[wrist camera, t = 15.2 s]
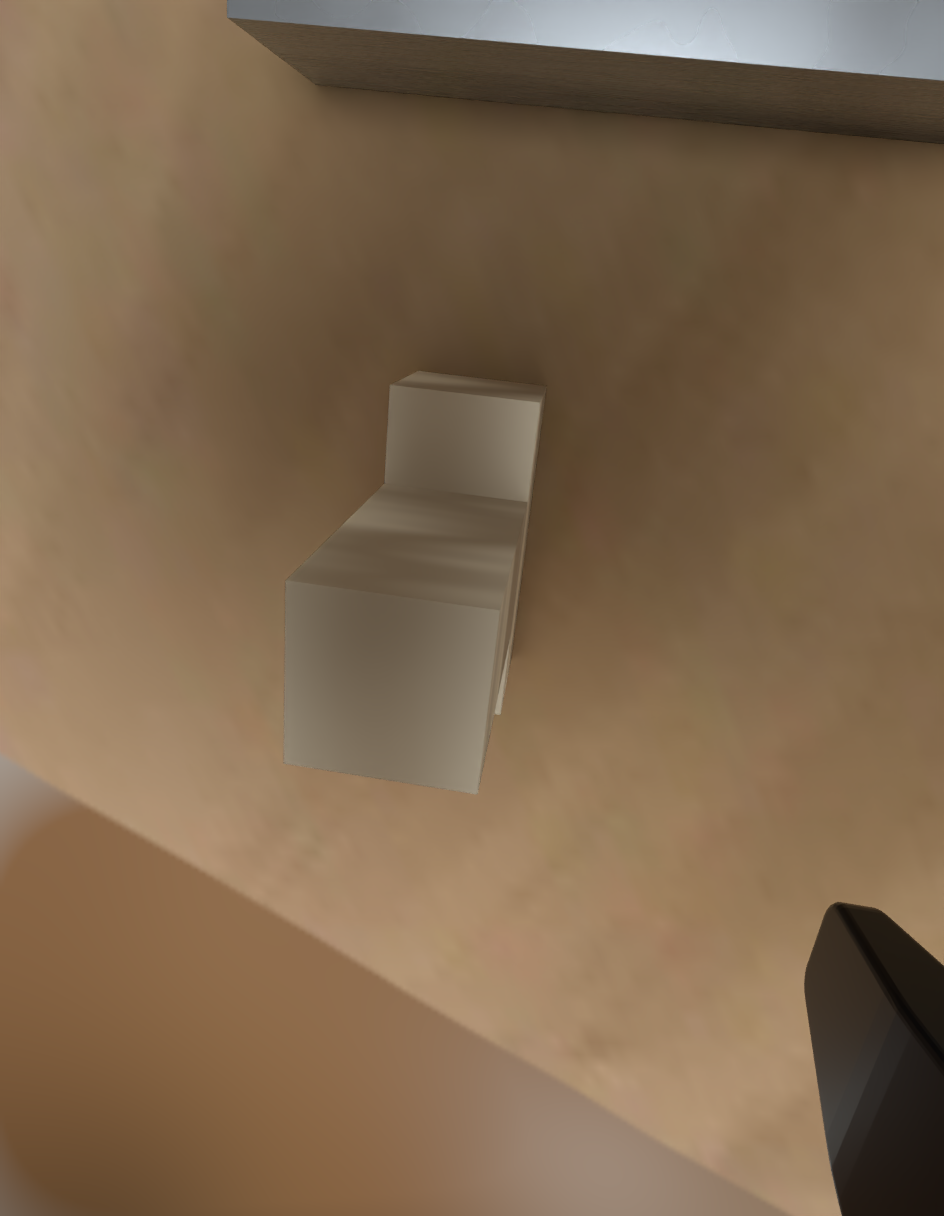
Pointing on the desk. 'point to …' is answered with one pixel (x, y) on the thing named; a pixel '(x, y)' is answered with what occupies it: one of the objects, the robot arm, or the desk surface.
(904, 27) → the slot rail
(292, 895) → the desk surface
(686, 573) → the desk surface
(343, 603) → the pale step bench
